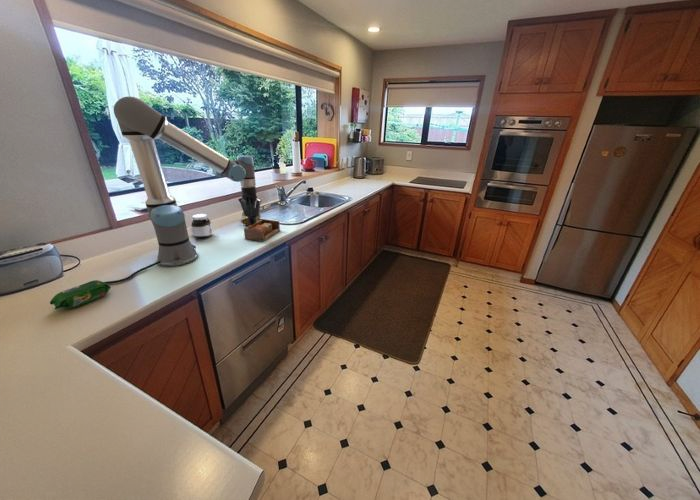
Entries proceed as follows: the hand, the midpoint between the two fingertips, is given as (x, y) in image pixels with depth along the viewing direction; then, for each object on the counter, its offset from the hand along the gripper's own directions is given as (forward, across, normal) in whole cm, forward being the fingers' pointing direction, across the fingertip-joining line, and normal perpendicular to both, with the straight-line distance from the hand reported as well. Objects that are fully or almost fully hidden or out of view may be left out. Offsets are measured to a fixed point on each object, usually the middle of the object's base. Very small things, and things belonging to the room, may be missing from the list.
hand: (253, 228), depth 157 cm
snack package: (+3, +16, +76) cm, 78 cm away
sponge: (+3, +14, -18) cm, 23 cm away
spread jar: (+3, +24, +13) cm, 28 cm away
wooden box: (+3, -6, 0) cm, 7 cm away
